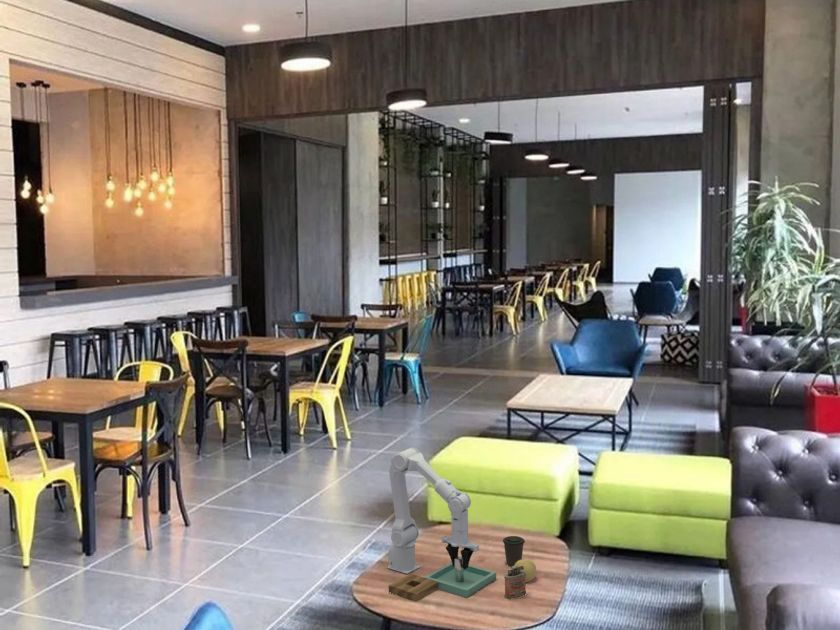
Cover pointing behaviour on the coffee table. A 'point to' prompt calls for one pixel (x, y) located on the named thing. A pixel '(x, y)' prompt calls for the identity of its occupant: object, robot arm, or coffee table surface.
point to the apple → (527, 568)
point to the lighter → (515, 582)
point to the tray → (471, 584)
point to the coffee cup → (513, 549)
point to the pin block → (413, 587)
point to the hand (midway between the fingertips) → (460, 566)
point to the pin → (459, 569)
